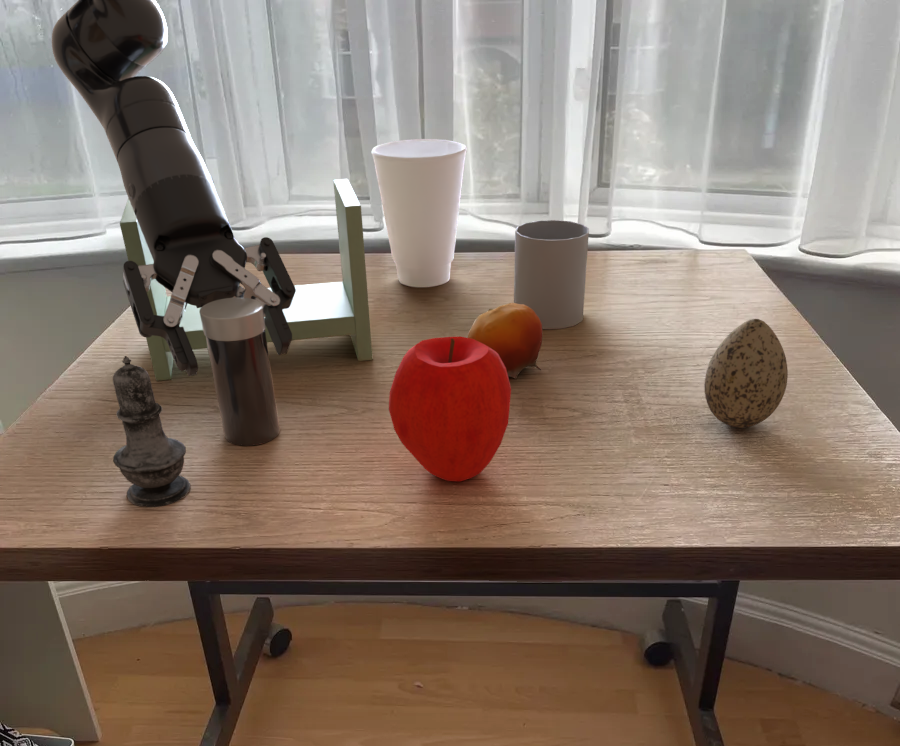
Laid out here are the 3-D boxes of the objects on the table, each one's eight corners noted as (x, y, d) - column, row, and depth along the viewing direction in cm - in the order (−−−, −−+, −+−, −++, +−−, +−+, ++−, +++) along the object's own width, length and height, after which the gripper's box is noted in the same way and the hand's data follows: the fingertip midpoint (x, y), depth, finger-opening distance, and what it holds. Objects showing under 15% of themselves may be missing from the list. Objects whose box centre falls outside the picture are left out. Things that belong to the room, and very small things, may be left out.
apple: (377, 492, 76) (365, 353, 68) (419, 440, 83) (413, 310, 76) (489, 511, 73) (490, 368, 66) (523, 456, 80) (527, 322, 73)
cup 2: (503, 323, 107) (504, 236, 101) (526, 301, 113) (528, 217, 107) (572, 332, 104) (577, 243, 98) (591, 309, 110) (597, 223, 104)
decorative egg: (697, 438, 82) (715, 331, 76) (698, 405, 88) (714, 303, 82) (779, 444, 81) (803, 337, 75) (774, 410, 87) (796, 308, 81)
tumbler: (223, 449, 83) (198, 321, 75) (223, 424, 87) (199, 300, 80) (282, 442, 83) (263, 315, 76) (279, 417, 88) (261, 294, 80)
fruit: (530, 381, 90) (497, 305, 88) (475, 402, 95) (443, 332, 93) (572, 355, 95) (541, 283, 93) (517, 377, 101) (488, 309, 98)
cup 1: (361, 281, 120) (351, 150, 110) (420, 260, 127) (415, 135, 118) (428, 299, 114) (423, 162, 104) (486, 275, 121) (486, 145, 111)
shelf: (156, 381, 95) (119, 222, 86) (161, 340, 105) (129, 193, 95) (372, 359, 99) (361, 205, 89) (359, 322, 108) (347, 178, 98)
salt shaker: (127, 514, 74) (88, 376, 66) (119, 482, 78) (83, 349, 71) (199, 499, 75) (169, 363, 68) (188, 468, 80) (159, 337, 73)
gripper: (243, 211, 87) (304, 363, 86) (94, 235, 81) (158, 397, 80) (255, 161, 80) (322, 324, 79) (93, 182, 75) (163, 359, 74)
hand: (239, 361), depth 80 cm, fingers open, 8 cm apart
